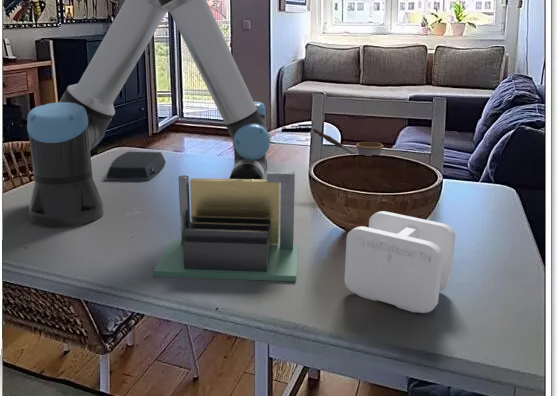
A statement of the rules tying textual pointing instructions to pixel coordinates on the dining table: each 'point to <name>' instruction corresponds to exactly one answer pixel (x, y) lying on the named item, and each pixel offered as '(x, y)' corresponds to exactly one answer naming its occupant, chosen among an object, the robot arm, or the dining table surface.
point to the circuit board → (278, 269)
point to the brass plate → (237, 199)
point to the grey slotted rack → (235, 232)
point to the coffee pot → (363, 147)
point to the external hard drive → (136, 166)
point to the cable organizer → (400, 260)
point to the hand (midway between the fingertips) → (236, 214)
